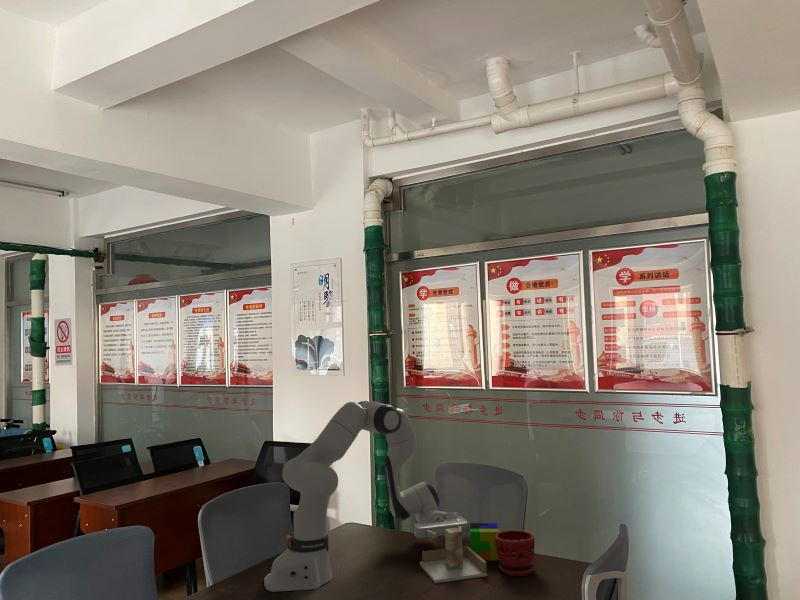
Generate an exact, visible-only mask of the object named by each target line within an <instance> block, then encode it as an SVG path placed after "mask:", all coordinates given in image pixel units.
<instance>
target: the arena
mask: <svg viewBox="0 0 800 600" xmlns="http://www.w3.org/2000/svg"><path fill="white" fill-rule="evenodd" d="M421 553H422V555H421V558H422V561H419V566H420V567H421V568H422V569H423V571H424V572H425V573H426V574H427V575H428V576H429V578H430V579H431V580H432V582H433V583H434V584H440V583H446V582H454V581H461V580H467V579H469V580H470V579H476V578H483V577H487V576H488V575H487V574H488V573H487V572H488V570H487V562H486V560H483V559H482V558H481V557H480V556H479V555H478V554H476V553H475V552H474V551H473V550H472V549H471V546H470V547H469V545H462V557H463V568H457V569H450V568H449V567H448V566H447V565H446V550H445V548H438V549H437V548H436V549H430V550H422V552H421Z"/></svg>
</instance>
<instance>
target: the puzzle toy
mask: <svg viewBox="0 0 800 600" xmlns="http://www.w3.org/2000/svg"><path fill="white" fill-rule="evenodd" d="M469 532H470V534H469V535H470V537H469V538H470V548H471V549H472V550H473V551H474V552H475V553H476V554H478V555H479V556H480V557H481V558H482V559H483V560H484V561H498V559H499V558H498V555H497V551H496V545H495V535H496V534H497V533H499V532H500V530H499V526H498V523H497V522H494V523H493V522H490V523H489V522H487V523H486V522H485V523H484V522H483V523H481V522H470V523H469Z"/></svg>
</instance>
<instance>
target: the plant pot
mask: <svg viewBox="0 0 800 600" xmlns="http://www.w3.org/2000/svg"><path fill="white" fill-rule="evenodd" d="M495 545H496V551H497V555H498V558H499V560H500V561H499V565H498V568H499V569H500V571H501V572H502V573H504V574H505V575H509V576H515V577H516V576H518V577H519V576H521V577H522V576H528V575H529V574H531V573H532V572H533V571H534V570H535V565H534V564H533V560H534V557H535V536H534V534H533V533H531V532H529V531H525V530H513V529H511V530H503V531H499V533H497V534H496V535H495Z"/></svg>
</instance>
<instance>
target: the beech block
mask: <svg viewBox="0 0 800 600" xmlns="http://www.w3.org/2000/svg"><path fill="white" fill-rule="evenodd" d="M444 542H445V547H444V549H445V550H446V565H447V566H448V567H449V568H450V569H457V568H463V557H462V546H463V533H462V532H461V531H460V530H459V529H458V528H451V529H445V535H444Z"/></svg>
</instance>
